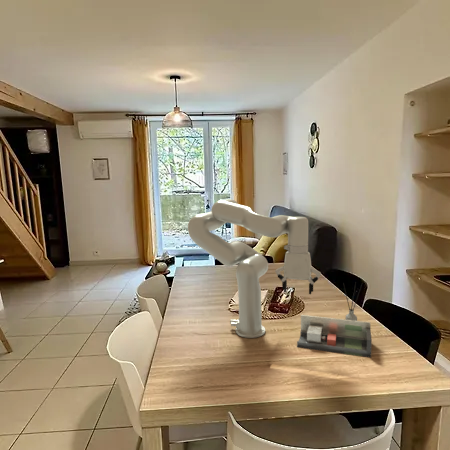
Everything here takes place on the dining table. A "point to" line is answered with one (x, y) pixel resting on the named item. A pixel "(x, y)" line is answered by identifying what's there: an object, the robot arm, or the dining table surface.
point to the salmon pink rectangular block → (331, 339)
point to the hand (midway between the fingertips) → (297, 292)
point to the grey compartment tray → (338, 335)
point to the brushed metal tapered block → (315, 334)
